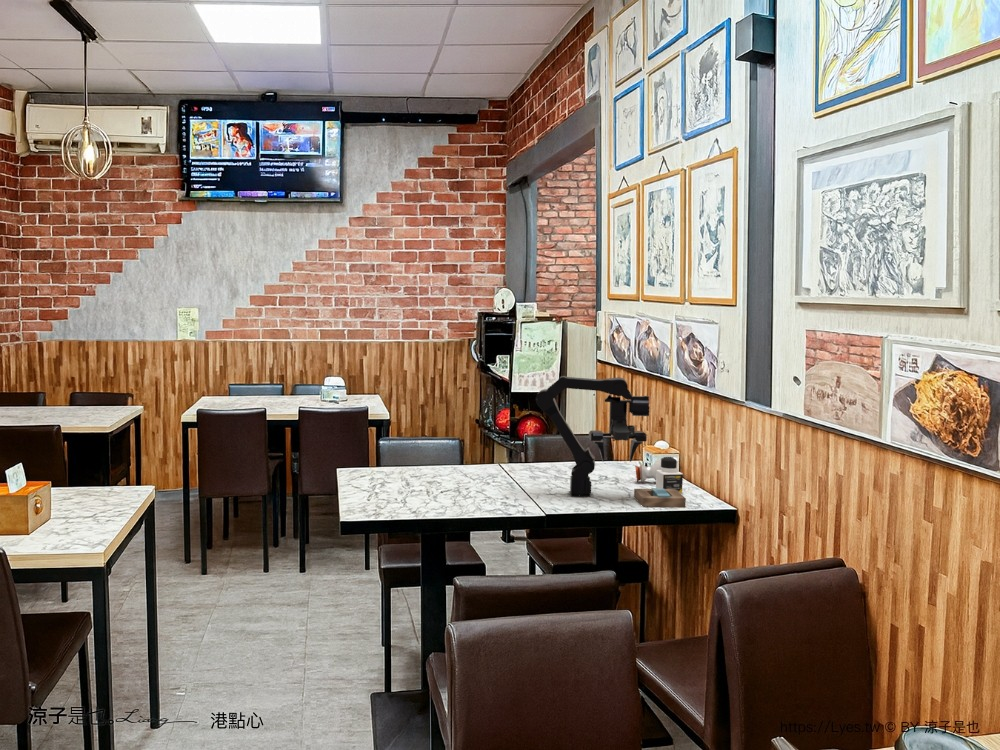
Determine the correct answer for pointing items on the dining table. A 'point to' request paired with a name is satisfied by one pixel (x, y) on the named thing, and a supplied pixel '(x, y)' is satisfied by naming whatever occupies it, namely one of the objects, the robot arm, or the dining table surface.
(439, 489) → the dining table surface
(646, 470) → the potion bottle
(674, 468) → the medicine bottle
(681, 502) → the brown square frame
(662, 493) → the block
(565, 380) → the robot arm
